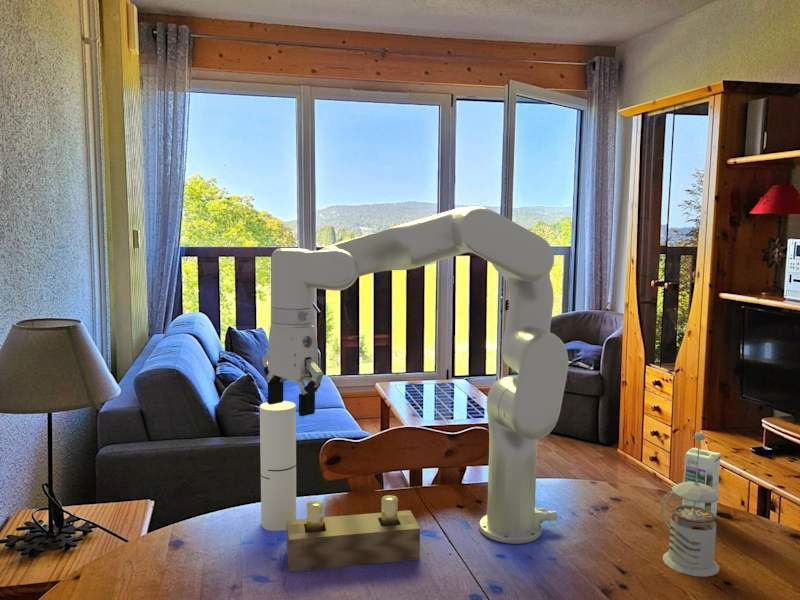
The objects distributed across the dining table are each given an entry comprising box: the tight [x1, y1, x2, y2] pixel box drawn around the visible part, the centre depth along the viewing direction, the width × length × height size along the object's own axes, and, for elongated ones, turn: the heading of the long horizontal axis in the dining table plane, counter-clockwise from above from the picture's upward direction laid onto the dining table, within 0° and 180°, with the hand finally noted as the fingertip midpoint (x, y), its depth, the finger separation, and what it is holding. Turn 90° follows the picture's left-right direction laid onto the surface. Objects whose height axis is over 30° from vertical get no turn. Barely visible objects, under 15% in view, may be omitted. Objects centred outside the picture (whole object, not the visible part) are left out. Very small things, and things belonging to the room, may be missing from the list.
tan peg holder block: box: [286, 509, 421, 573], centre depth 129 cm, size 24×8×6 cm, turn 102°
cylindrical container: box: [259, 400, 297, 532], centre depth 140 cm, size 7×7×25 cm
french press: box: [661, 431, 720, 577], centre depth 127 cm, size 10×12×25 cm
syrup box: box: [681, 447, 721, 526], centre depth 146 cm, size 6×6×14 cm
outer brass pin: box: [306, 500, 324, 533], centre depth 127 cm, size 3×3×6 cm
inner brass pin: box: [380, 494, 399, 526], centre depth 130 cm, size 3×3×6 cm
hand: (290, 408), depth 126 cm, fingers open, 9 cm apart
